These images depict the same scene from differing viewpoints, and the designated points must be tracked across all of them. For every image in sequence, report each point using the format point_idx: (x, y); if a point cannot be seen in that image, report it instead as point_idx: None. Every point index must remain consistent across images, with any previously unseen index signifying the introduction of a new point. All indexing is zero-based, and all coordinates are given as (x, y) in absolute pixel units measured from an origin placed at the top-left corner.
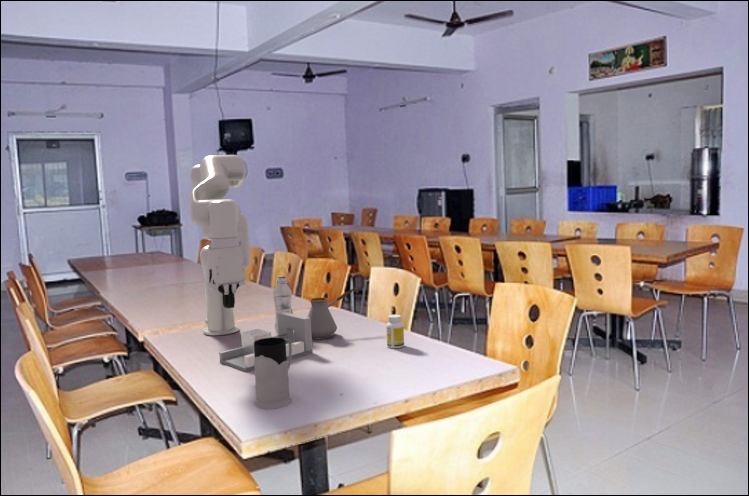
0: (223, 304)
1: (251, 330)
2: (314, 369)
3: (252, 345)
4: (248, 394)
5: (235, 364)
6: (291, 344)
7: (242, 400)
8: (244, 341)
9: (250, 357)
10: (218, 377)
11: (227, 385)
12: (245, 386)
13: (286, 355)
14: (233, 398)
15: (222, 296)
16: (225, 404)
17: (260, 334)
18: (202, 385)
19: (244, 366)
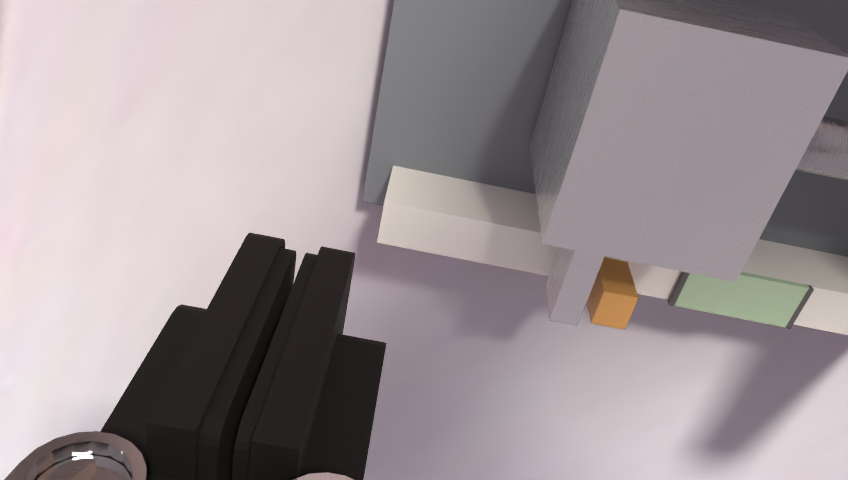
0: (182, 315)
1: (751, 49)
2: (586, 458)
3: (546, 166)
4: None
5: (387, 75)
6: (771, 322)
7: None
8: (586, 44)
9: (403, 242)
10: (191, 115)
11: (150, 261)
12: None
13: None
14: (78, 393)
15: (108, 423)
16: (19, 408)
17: (627, 249)
18: (45, 141)
19: (389, 167)
